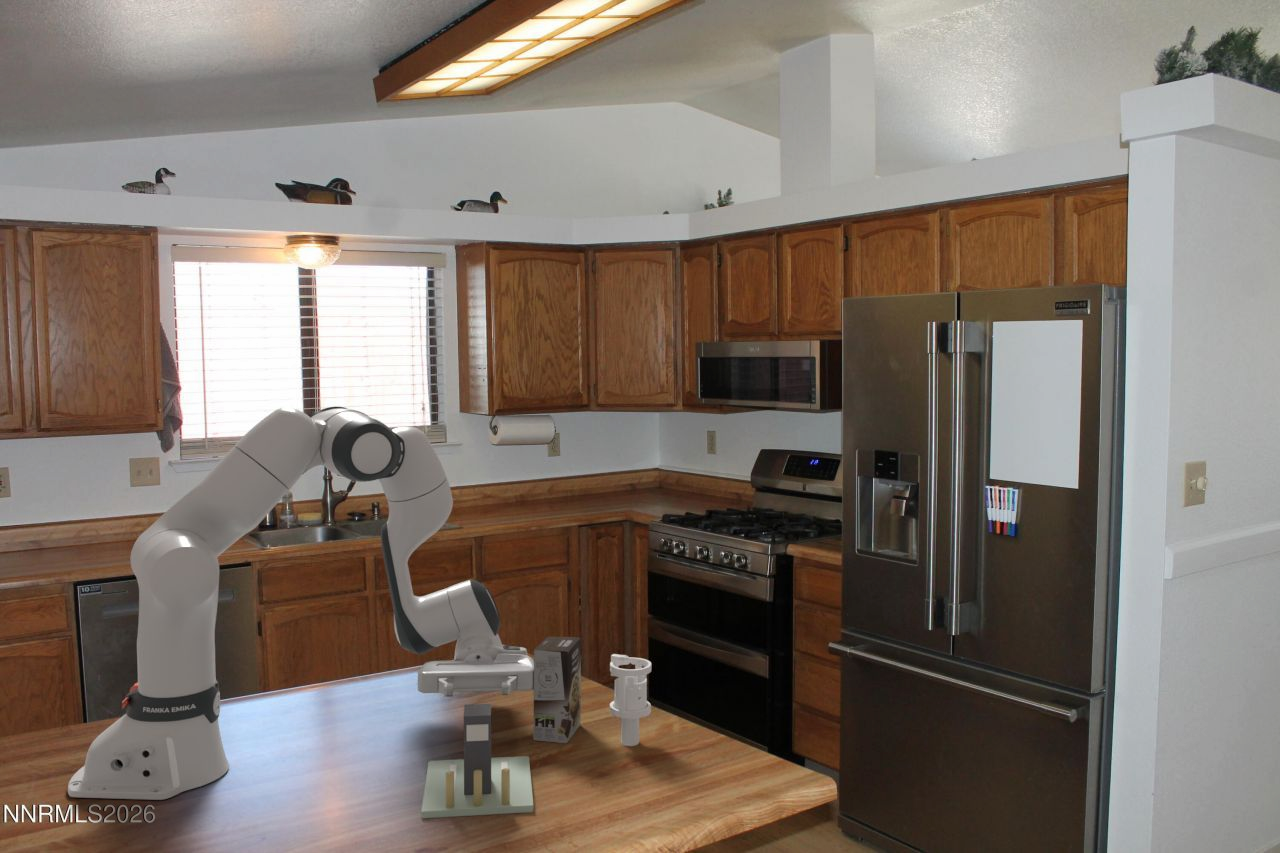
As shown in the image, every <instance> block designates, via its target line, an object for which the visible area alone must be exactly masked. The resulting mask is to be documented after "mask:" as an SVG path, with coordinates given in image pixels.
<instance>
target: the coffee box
mask: <svg viewBox="0 0 1280 853" xmlns="http://www.w3.org/2000/svg"><path fill="white" fill-rule="evenodd" d="M581 658H582V637H574V636H573V637H572V636H549V635H548V636H547V637H546V638H544V640H542V642H540V643H539V644H538V645H537V646H536V647H535V648H534V649H533V661H534V690H533V725H532V726H533V727H532V728H533V735H532V738H533V739H532V740H533V741H538V742H548V743H557V744H568V742H569V741H570V740H571V738H573V735H574V734H575V733H576V732H577V730H578V729H579V728H580V726H581V717H582V716H581V714H582V712H581V711H582V710H581V706H582V704H581V703H582V702H581V701H582V700H581V698H582V696H581V694H582V693H581V692H582V688H581V686H582V684H581V681H582V674H581V672H582V671H581V670H582V667H581V664H582V659H581Z"/></svg>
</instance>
